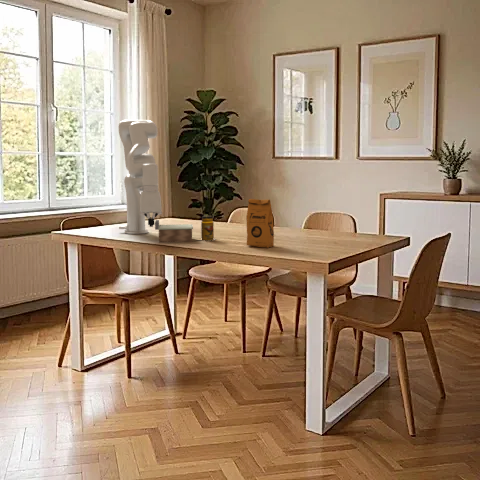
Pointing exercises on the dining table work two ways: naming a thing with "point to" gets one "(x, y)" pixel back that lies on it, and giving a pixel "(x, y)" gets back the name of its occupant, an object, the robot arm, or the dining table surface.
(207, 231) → the condiment
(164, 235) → the box
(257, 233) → the coffee package
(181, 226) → the lid
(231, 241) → the dining table surface
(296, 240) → the dining table surface
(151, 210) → the robot arm
